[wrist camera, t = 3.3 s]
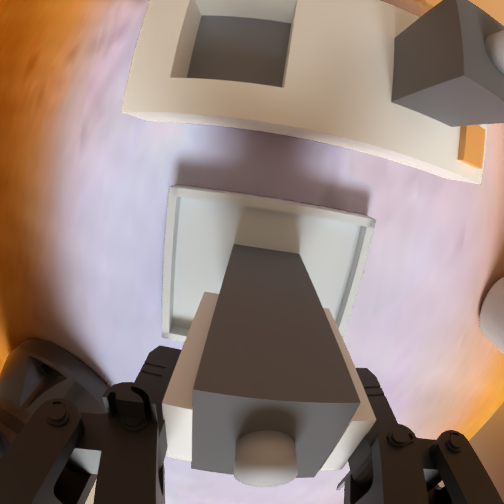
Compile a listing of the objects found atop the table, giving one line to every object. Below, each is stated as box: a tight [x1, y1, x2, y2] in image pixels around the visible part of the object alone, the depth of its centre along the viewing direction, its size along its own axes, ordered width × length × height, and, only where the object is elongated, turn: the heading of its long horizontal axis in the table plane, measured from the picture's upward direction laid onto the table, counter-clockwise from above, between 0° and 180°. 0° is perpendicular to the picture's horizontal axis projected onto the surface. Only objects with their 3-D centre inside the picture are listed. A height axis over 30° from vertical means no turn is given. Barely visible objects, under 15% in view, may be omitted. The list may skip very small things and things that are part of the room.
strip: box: [121, 0, 504, 184], centre depth 9 cm, size 20×9×11 cm, turn 82°
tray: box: [162, 185, 376, 342], centre depth 18 cm, size 12×10×2 cm
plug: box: [191, 244, 361, 487], centre depth 12 cm, size 4×4×13 cm
